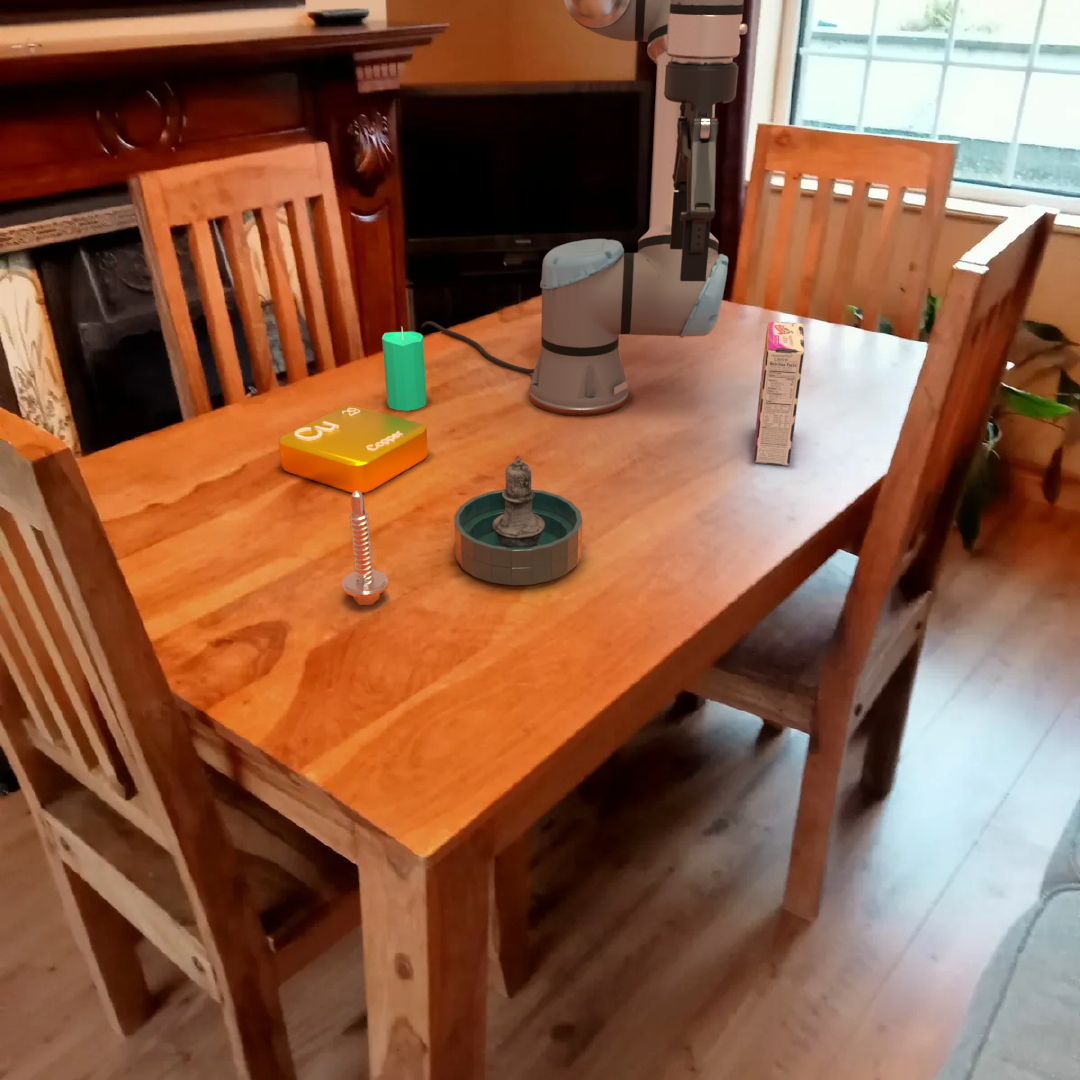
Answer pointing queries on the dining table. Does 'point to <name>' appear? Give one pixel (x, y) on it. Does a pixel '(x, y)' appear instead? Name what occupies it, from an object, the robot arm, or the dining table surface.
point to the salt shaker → (518, 510)
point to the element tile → (353, 448)
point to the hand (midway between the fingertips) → (686, 264)
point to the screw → (362, 558)
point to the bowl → (525, 563)
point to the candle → (404, 370)
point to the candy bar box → (779, 392)
